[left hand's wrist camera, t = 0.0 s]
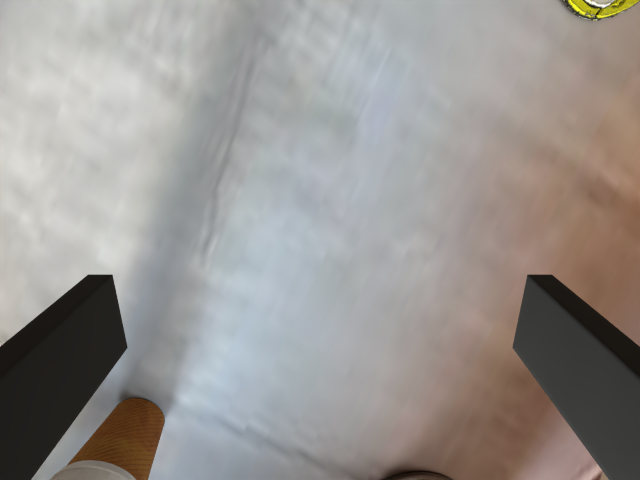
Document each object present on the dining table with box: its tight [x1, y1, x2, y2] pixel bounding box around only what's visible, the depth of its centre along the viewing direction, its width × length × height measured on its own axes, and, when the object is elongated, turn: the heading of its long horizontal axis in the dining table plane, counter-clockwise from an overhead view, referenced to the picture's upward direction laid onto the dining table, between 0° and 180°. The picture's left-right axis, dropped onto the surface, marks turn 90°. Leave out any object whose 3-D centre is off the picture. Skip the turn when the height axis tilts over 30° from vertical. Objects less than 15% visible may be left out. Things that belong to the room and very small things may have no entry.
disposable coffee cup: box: [51, 398, 165, 480], centre depth 45 cm, size 10×10×12 cm
